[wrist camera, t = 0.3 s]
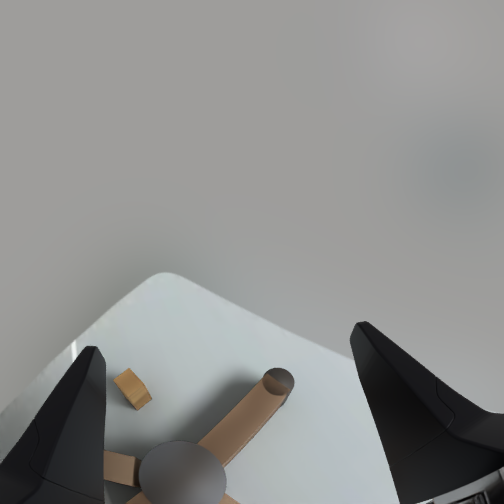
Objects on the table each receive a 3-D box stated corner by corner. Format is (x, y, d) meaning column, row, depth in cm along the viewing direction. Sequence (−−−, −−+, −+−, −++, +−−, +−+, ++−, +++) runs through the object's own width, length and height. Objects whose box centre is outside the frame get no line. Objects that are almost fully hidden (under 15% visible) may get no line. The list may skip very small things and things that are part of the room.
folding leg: (144, 461, 17) (134, 455, 15) (141, 489, 15) (131, 487, 13) (52, 436, 17) (36, 426, 15) (48, 461, 15) (30, 453, 13)
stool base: (387, 451, 19) (407, 440, 17) (210, 639, 4) (209, 655, 1) (204, 330, 29) (203, 308, 26) (23, 469, 13) (0, 460, 11)
